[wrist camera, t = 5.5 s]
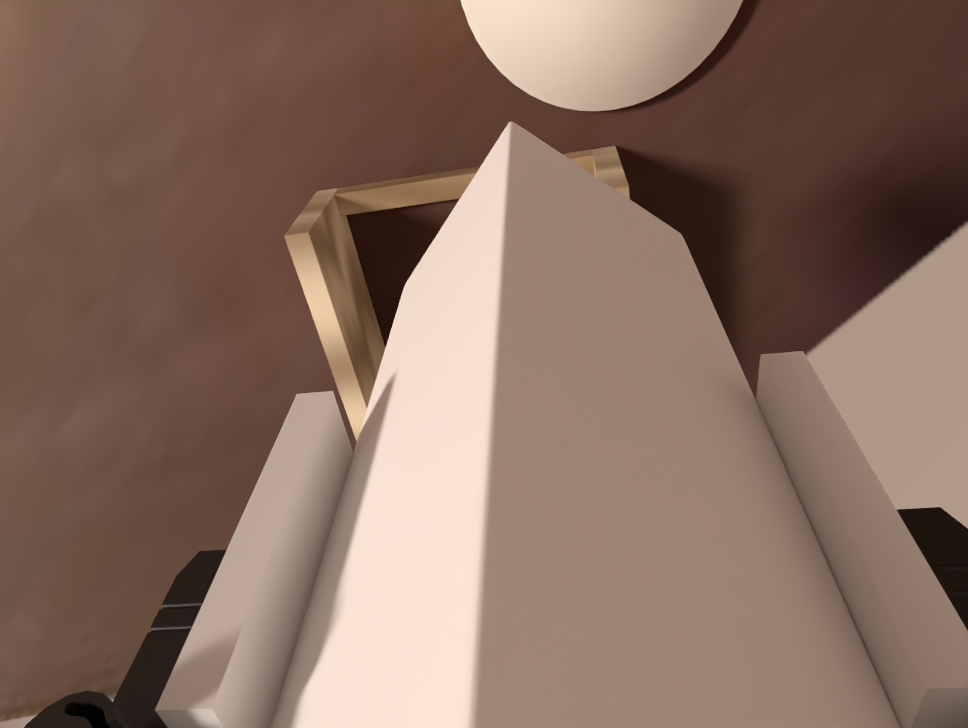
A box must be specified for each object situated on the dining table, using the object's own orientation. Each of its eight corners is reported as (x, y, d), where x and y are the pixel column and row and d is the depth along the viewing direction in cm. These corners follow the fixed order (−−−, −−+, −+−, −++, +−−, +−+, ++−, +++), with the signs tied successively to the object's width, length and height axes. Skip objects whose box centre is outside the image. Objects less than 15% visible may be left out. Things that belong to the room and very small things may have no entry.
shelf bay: (316, 191, 38) (284, 235, 33) (615, 145, 35) (628, 186, 30) (385, 409, 46) (367, 471, 41) (631, 383, 43) (644, 446, 38)
